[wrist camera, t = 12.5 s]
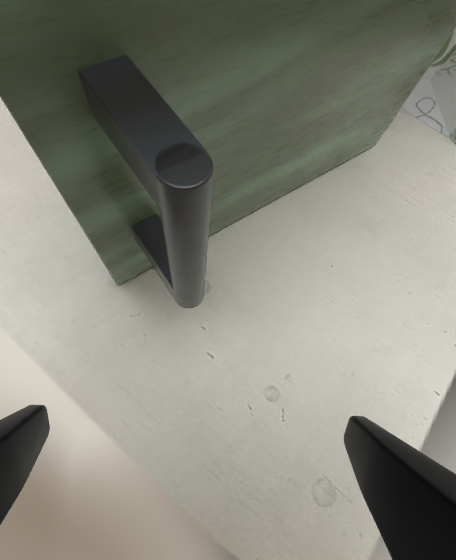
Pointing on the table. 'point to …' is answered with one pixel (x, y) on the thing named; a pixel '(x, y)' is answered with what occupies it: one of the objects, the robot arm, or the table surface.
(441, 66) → the grocery bag
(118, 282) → the green cabinet door
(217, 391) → the table surface
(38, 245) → the table surface
